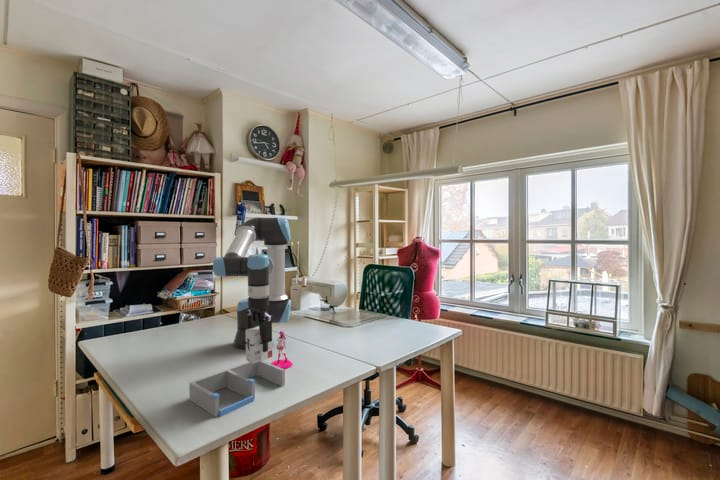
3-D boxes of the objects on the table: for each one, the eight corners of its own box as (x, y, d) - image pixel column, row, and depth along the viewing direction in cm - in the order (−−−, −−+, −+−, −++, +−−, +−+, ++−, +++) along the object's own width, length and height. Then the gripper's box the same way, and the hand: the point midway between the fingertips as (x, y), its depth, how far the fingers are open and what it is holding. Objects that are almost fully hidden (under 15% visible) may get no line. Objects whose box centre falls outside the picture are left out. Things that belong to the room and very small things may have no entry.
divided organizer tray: (189, 399, 117) (189, 380, 117) (257, 373, 139) (257, 357, 139) (216, 418, 106) (216, 397, 106) (286, 385, 128) (286, 368, 128)
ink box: (265, 353, 132) (264, 323, 131) (272, 356, 129) (272, 326, 128) (245, 360, 125) (244, 328, 124) (252, 364, 122) (252, 332, 121)
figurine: (268, 362, 150) (268, 329, 149) (290, 359, 154) (290, 326, 153) (271, 371, 141) (271, 335, 140) (294, 367, 145) (294, 332, 144)
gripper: (235, 294, 128) (236, 354, 129) (265, 302, 117) (265, 367, 118) (252, 291, 134) (253, 348, 135) (282, 298, 123) (282, 360, 124)
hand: (259, 357), depth 127 cm, fingers closed on ink box, 5 cm apart
